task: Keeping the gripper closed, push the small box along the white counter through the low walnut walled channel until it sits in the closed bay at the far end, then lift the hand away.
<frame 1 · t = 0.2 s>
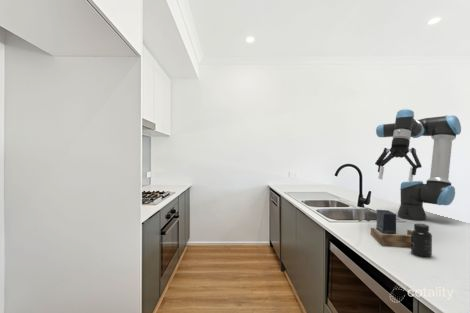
hand: (394, 180, 126), 28 cm above the counter, tool tilted 20°, fingers open, 13 cm apart
channel: (396, 240, 120), on the counter
small box: (386, 232, 134), on the counter
supplement bottle: (421, 255, 103), on the counter
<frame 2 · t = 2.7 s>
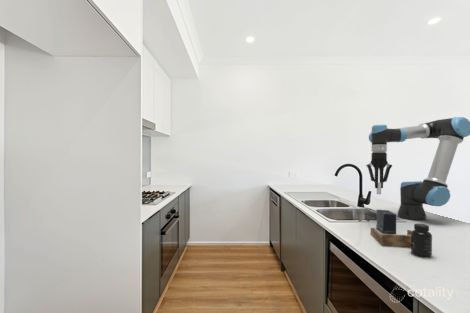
hand: (378, 194, 144), 18 cm above the counter, tool pointing down, fingers closed
nothing on the counter moved.
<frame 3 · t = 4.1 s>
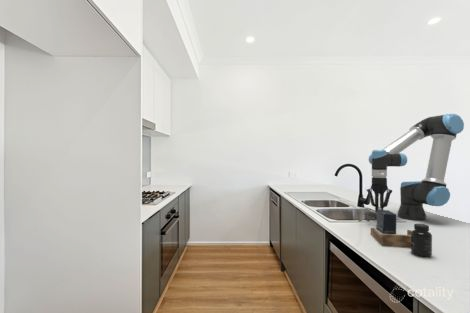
hand: (379, 218, 144), 4 cm above the counter, tool pointing down, fingers closed
nothing on the counter moved.
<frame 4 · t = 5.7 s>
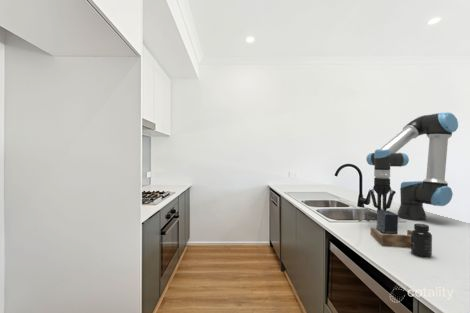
hand: (381, 220, 139), 4 cm above the counter, tool pointing down, fingers closed
small box: (386, 232, 132), on the counter, touching gripper
everything else where it was.
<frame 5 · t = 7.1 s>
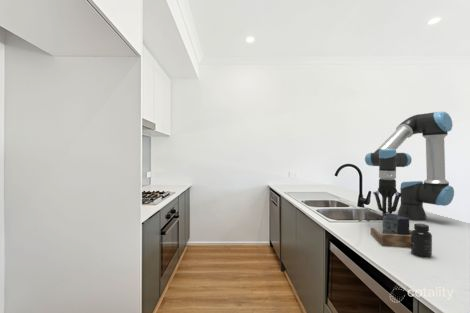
hand: (386, 224, 131), 4 cm above the counter, tool pointing down, fingers closed
small box: (395, 237, 124), on the counter, touching gripper
everything else where it was.
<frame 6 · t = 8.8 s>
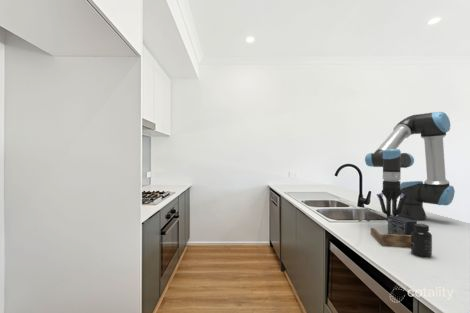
hand: (391, 228, 126), 4 cm above the counter, tool pointing down, fingers closed
small box: (402, 241, 119), on the counter, touching gripper
everything else where it was.
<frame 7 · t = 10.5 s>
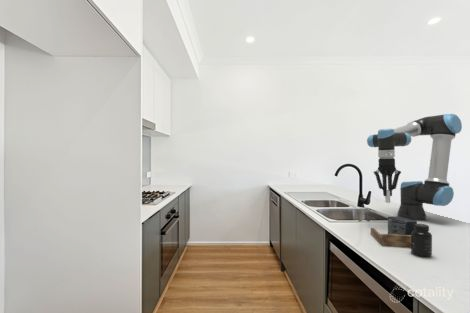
hand: (387, 202, 136), 15 cm above the counter, tool pointing down, fingers closed
small box: (402, 241, 119), on the counter
everything else where it was.
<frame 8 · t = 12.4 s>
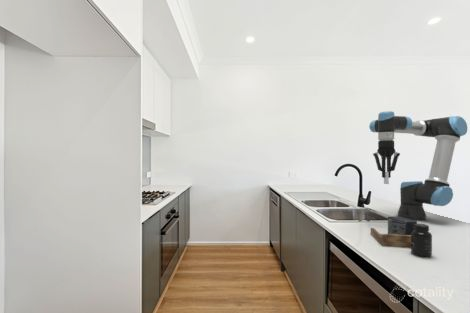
hand: (386, 183, 139), 24 cm above the counter, tool pointing down, fingers closed
nothing on the counter moved.
at the end: small box inside the target area (3.3 cm from its centre), on the counter; small box tilted 0° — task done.
